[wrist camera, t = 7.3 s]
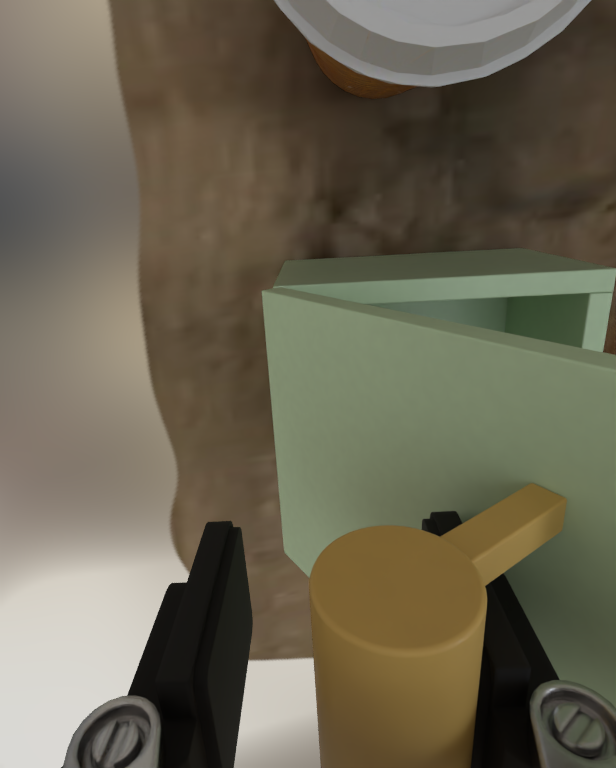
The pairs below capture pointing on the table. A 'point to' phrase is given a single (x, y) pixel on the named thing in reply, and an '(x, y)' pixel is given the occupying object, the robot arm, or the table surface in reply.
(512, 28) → the disposable coffee cup
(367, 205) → the table surface
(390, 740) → the lid
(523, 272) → the chest
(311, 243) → the table surface
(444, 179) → the table surface
